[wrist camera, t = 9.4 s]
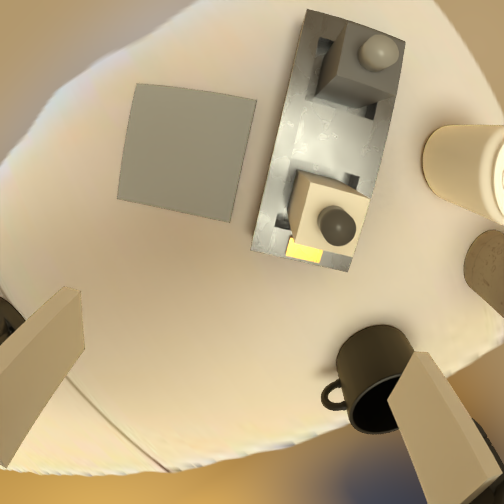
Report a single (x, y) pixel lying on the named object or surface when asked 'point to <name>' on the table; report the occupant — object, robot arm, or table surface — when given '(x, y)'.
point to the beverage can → (468, 167)
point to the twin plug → (360, 68)
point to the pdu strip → (318, 144)
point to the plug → (326, 213)
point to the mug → (370, 377)
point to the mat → (185, 150)
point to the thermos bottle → (487, 268)
